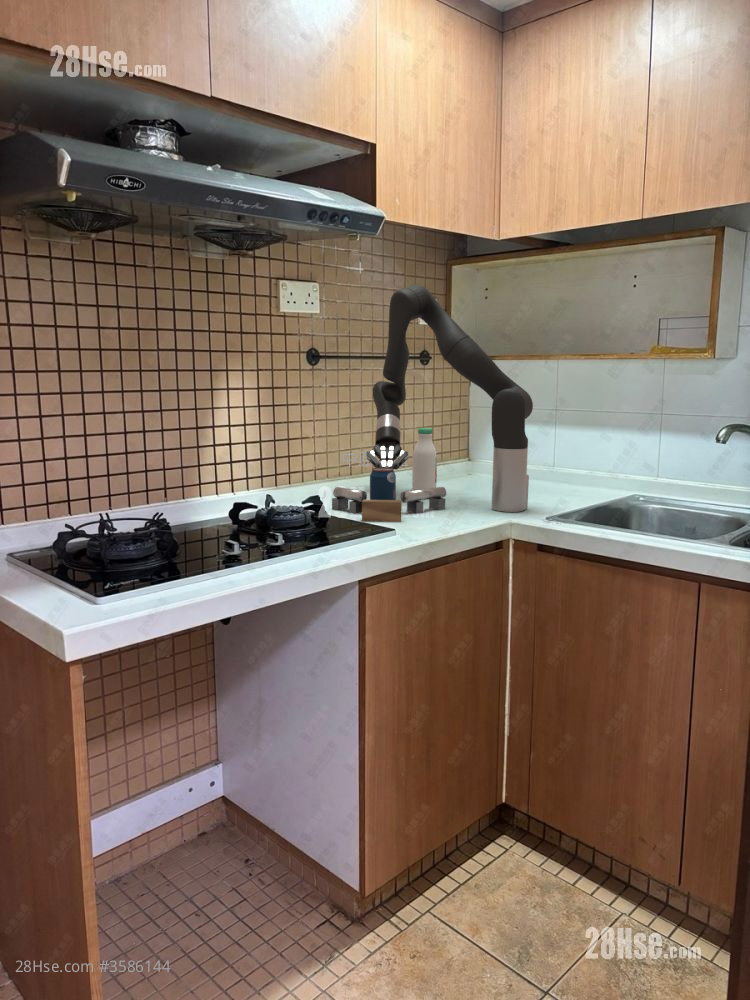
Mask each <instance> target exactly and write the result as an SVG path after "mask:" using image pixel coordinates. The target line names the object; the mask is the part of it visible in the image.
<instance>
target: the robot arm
mask: <svg viewBox="0 0 750 1000" xmlns="http://www.w3.org/2000/svg"><path fill="white" fill-rule="evenodd" d="M388 313H389V314H388V335H387V336H388V340H387V349H386V355H385V359H384V364H383V369H382V375H383V377H384V379H386V380H387V381H385V380H379V381H376V383H375V384H374V385H373V387H372V391H373V394H372V399H373V402H374V405H375V408H376V411H377V412H376V413H377V414H376V415H377V416H376V417H377V418H376V425H375V441H374V446H373V448H372V450H371V451H369V450H368V451H366V453H365V454H366V460H368V461H369V463H371V465H372V466H373V467H374V468H393V469H394V470H399V468H400V467H401V466H402V465H403V464H404V463H405V462H407V460H408V459H409V451H407V450H406V451H404V450H403V447H402V446H401V434H402V432H401V431H402V430H401V429H402V428H401V409H400V407H399V406H401V405H403V404H404V403H405V401H406V399H407V391H406V374H407V369H408V365H409V361H410V350H409V345H408V342H407V338H406V337H407V336H406V335H407V330H408V328H409V325H410V323H411V322H412V321H414V320H416V319H421V320H422V321H423V322H424V323H426V325H427V326H429V328H430V329H431V330H432V332H433V333H434V336H435V339H436V343H437V346H438V349H439V350H438V351H439V352H440V354H441V356H442V358H443V359H444V360H445V361H446V362H447V363H448V364H449V366H451V367H452V368H453V369H454V370H455V371H456V372H457V373H458V374H459V375H460V376H462V377H463V378H465V379H466V380H468V381H469V382H471V383H472V384H474V385H475V386H477V387H479V388H480V389H481V390H482V391H484V392H485V393H486V394H487V395H488V396H489V397H490V398H491V399H492V405H491V437H492V440H493V454H492V455H493V456H492V457H493V458H492V459H493V460H492V482H491V483H492V484H491V485H492V486H491V510H494V511H497V512H507V513H516V512H517V513H518V512H523V510H524V511H525V510H527V508H529V505H528V504H529V485H530V484H529V483H530V481H529V480H530V475H529V474H528V472H527V471H528V452H529V451H528V449H529V439H528V437H527V435H526V419H528V418H529V417H530V416H531V414H532V412H533V410H534V404H533V400H532V397H531V395H530V394H529V393H528V392H527V390H525V389H524V388H523V387H521V386H520V385H519V384H518V383H516V382H515V381H514V380H512V379H511V378H510V377H509V376H508V375H507V374H505V372H503V371H502V370H501V368H500V367H499V366H498V365H497V364H496V363H495V362H494V360H493V359H491V357H490V356H489V355H488V354H487V353H486V351H484V350H483V349H482V347H481V346H480V345H479V344H478V343H477V342H476V341H475V340H474V339H473V338H472V337H471V336H470V335H469V334H468V333H467V332H466V331H465V330H463V329H462V328H461V326H460V325H459V324H457V322H455V320H454V319H453V318H452V317H451V316H450V315H449V314H448V313H447V312H446V310H445V309H444V308H443V306H441V304H440V303H439V302H438V300H437V299H436V298H435V297H434V295H433V294H432V293H431V292H430V291H429V289H427V288H426V287H425V286H423V285H421V284H411V285H409V286H406V287H403V288H400V289H397V290H396V291H395V292H393V294H392V296H391V297H390V302H389V310H388ZM380 461H381V462H380Z"/></svg>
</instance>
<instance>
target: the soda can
mask: <svg viewBox="0 0 750 1000" xmlns="http://www.w3.org/2000/svg"><path fill="white" fill-rule="evenodd" d="M394 470H395V469H393V468H375V467H374V468H372V469H371V473H370V474H369V500H397V499H396V496H397V495H396V491H397V490H396V488H397V486H396V485H397V480H396V479H397V478H396V477H397V475H396V473H395V471H394Z"/></svg>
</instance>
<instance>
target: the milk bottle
mask: <svg viewBox="0 0 750 1000" xmlns="http://www.w3.org/2000/svg"><path fill="white" fill-rule="evenodd" d="M433 433H434V432H433V428H432V427H419V428H417V436H418V437H417V438H418V439H417V443H416V444H415V446H414V449H413V453H412V473H411V474H412V479H411V480H412V481H411V483H412V485H411V486H412V488H411V490H420V489H428V488H436V487H437V480H438V479H437V474H438V473H437V469H438V466H437V465H438V464H437V462H438V458H437V455H438V454H437V450H436V447H435V445H434V442H433V438H432V436H433Z"/></svg>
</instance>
